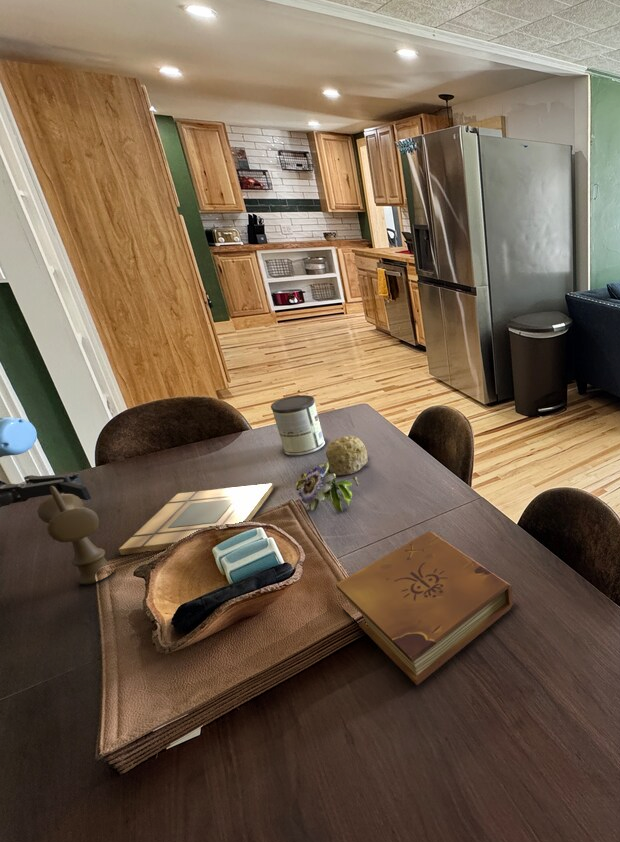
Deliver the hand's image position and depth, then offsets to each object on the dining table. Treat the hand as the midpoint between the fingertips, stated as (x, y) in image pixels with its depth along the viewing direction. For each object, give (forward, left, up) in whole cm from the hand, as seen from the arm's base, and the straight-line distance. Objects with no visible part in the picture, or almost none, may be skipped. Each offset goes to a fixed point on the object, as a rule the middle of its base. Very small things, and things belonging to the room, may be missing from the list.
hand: (39, 514), depth 86 cm
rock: (+43, +29, -12) cm, 53 cm away
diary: (+69, -26, -12) cm, 74 cm away
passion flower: (+43, +12, -12) cm, 46 cm away
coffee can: (+28, +43, -12) cm, 53 cm away
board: (+18, +11, -12) cm, 24 cm away
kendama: (+8, -5, -12) cm, 15 cm away
